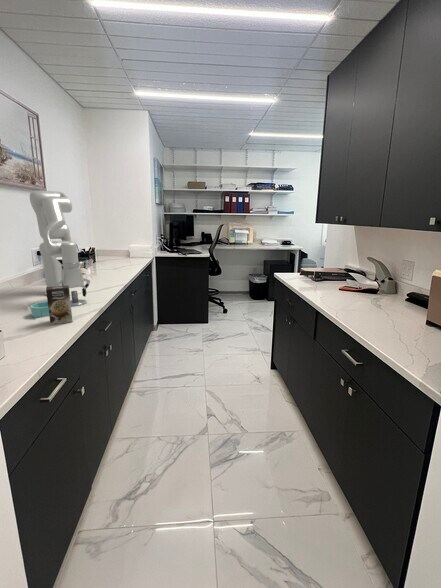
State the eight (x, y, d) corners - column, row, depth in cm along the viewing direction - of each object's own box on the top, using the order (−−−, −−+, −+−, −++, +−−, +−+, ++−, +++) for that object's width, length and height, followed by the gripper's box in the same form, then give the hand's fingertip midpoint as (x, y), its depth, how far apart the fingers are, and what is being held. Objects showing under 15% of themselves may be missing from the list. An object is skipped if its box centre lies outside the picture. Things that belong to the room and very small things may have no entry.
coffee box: (50, 325, 135) (45, 289, 131) (50, 321, 140) (45, 286, 136) (73, 322, 139) (68, 287, 135) (72, 318, 144) (68, 284, 140)
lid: (61, 303, 167) (60, 290, 165) (83, 299, 173) (82, 288, 172) (66, 307, 158) (65, 295, 156) (89, 304, 165) (88, 291, 163)
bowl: (30, 313, 150) (29, 304, 149) (55, 309, 157) (54, 300, 156) (34, 319, 142) (32, 309, 141) (60, 315, 148) (58, 305, 147)
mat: (62, 304, 167) (62, 303, 167) (83, 300, 173) (83, 299, 173) (67, 308, 158) (66, 307, 158) (89, 305, 165) (89, 304, 165)
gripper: (86, 263, 169) (89, 293, 173) (51, 266, 158) (55, 298, 163) (90, 265, 163) (93, 296, 167) (54, 268, 153) (58, 301, 157)
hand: (74, 297), depth 165 cm, fingers open, 9 cm apart
